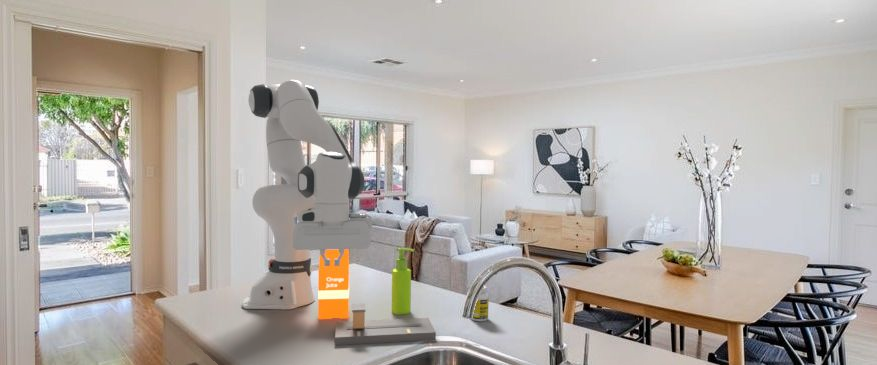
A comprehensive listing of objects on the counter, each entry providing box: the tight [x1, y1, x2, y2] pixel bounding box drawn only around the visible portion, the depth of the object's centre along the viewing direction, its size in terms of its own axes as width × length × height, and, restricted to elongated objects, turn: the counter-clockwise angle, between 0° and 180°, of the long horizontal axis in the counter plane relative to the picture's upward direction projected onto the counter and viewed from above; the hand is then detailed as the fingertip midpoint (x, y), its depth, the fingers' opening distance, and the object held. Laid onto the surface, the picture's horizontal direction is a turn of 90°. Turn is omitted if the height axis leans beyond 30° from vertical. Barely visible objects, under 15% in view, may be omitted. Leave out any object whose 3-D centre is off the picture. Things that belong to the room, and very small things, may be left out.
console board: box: [334, 317, 437, 346], centre depth 131 cm, size 26×12×2 cm, turn 100°
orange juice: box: [317, 249, 350, 320], centre depth 146 cm, size 8×9×20 cm
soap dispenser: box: [391, 247, 415, 316], centre depth 150 cm, size 6×7×20 cm
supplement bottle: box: [471, 285, 490, 322], centre depth 145 cm, size 5×5×10 cm
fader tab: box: [351, 303, 366, 329], centre depth 129 cm, size 3×5×5 cm, turn 11°
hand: (332, 265), depth 127 cm, fingers closed
